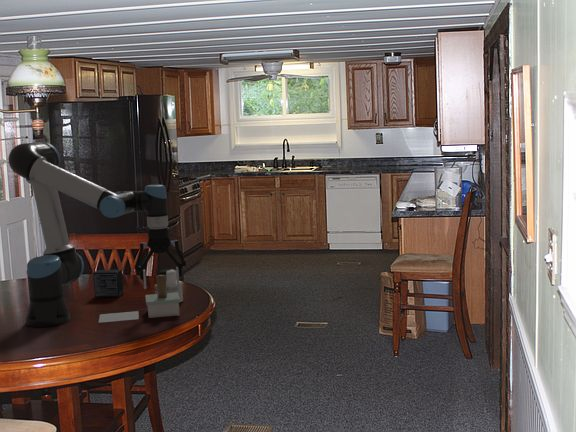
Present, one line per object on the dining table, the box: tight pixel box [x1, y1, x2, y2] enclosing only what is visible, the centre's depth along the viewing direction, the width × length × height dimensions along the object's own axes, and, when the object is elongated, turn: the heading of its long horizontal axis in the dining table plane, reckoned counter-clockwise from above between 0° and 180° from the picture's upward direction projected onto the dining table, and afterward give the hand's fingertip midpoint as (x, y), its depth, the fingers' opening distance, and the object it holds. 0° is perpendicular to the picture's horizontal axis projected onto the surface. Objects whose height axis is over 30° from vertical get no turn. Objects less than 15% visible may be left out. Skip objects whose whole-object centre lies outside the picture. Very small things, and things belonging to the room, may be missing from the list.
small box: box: [92, 269, 125, 299], centre depth 317 cm, size 11×6×10 cm, turn 84°
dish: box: [147, 303, 180, 319], centre depth 284 cm, size 11×11×5 cm
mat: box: [98, 310, 140, 324], centre depth 282 cm, size 14×12×1 cm
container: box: [154, 268, 184, 303], centre depth 300 cm, size 8×8×13 cm
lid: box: [144, 275, 181, 306], centre depth 283 cm, size 12×12×9 cm
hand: (161, 286), depth 283 cm, fingers open, 11 cm apart
